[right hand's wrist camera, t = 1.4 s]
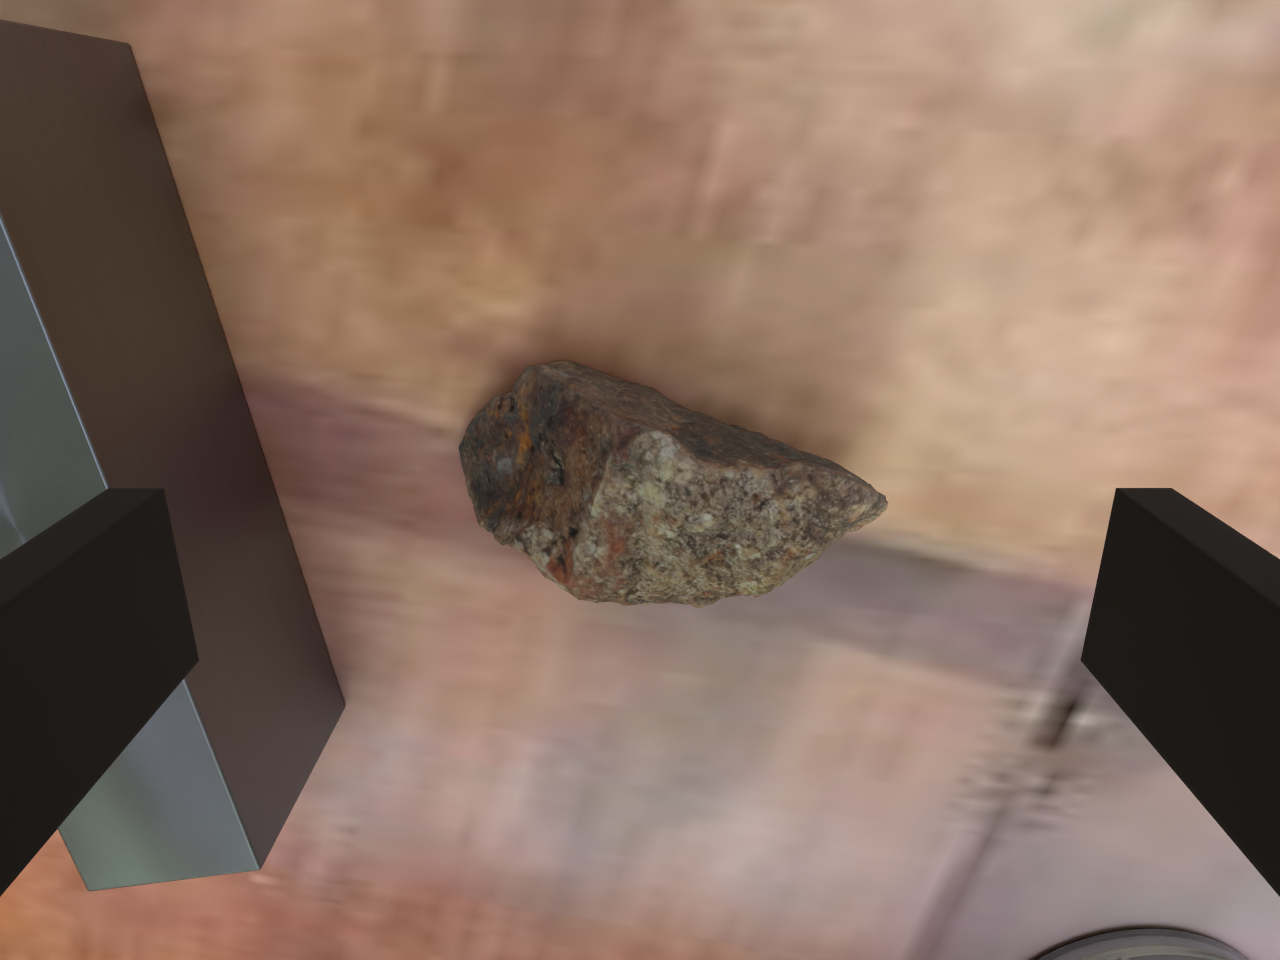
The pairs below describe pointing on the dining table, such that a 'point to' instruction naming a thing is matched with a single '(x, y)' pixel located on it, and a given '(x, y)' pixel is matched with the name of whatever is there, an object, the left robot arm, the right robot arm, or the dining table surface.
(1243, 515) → the dining table surface
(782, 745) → the dining table surface
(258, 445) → the box
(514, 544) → the rock
